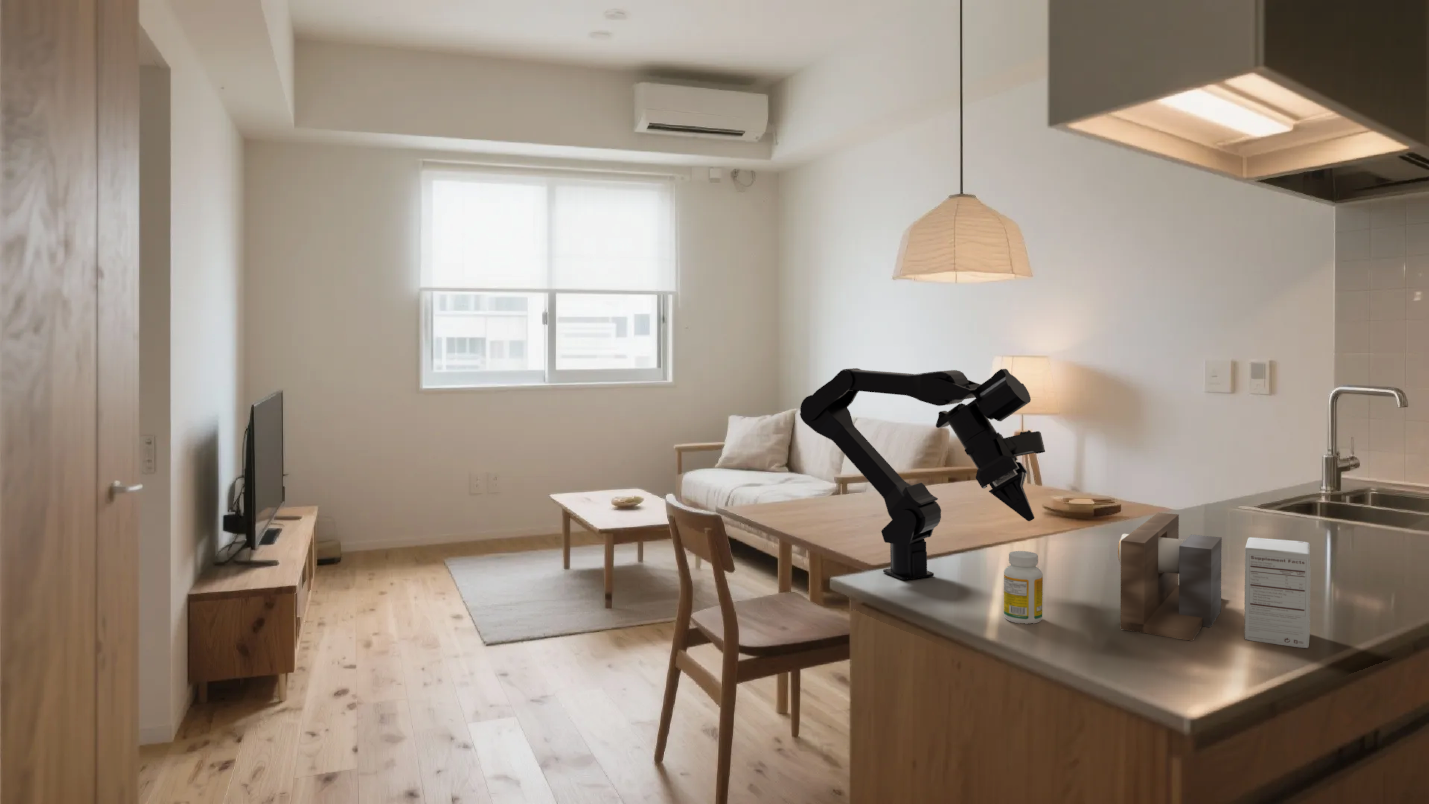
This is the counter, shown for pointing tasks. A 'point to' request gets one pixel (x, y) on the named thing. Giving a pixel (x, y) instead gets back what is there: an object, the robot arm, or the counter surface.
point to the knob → (1164, 554)
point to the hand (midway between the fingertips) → (1031, 520)
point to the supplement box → (1277, 591)
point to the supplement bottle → (1023, 588)
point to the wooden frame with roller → (1169, 581)
